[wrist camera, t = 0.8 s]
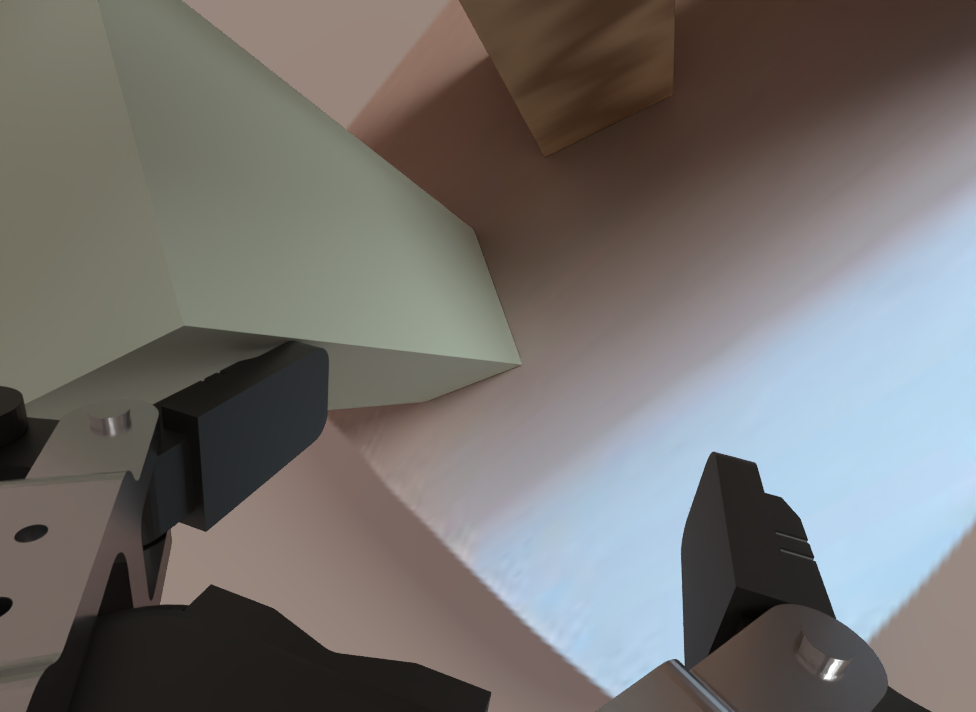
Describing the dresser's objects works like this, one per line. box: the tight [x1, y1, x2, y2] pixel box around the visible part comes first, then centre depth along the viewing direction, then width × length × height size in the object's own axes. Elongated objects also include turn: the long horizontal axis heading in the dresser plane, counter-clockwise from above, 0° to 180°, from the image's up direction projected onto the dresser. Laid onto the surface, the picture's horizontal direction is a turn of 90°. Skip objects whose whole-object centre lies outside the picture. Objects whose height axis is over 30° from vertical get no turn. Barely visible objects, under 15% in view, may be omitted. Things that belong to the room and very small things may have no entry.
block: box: [0, 0, 522, 420], centre depth 21 cm, size 6×8×22 cm
